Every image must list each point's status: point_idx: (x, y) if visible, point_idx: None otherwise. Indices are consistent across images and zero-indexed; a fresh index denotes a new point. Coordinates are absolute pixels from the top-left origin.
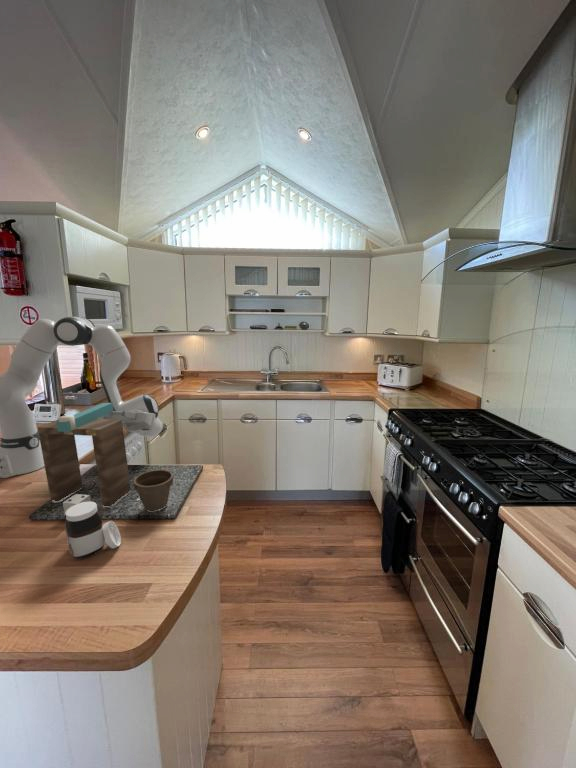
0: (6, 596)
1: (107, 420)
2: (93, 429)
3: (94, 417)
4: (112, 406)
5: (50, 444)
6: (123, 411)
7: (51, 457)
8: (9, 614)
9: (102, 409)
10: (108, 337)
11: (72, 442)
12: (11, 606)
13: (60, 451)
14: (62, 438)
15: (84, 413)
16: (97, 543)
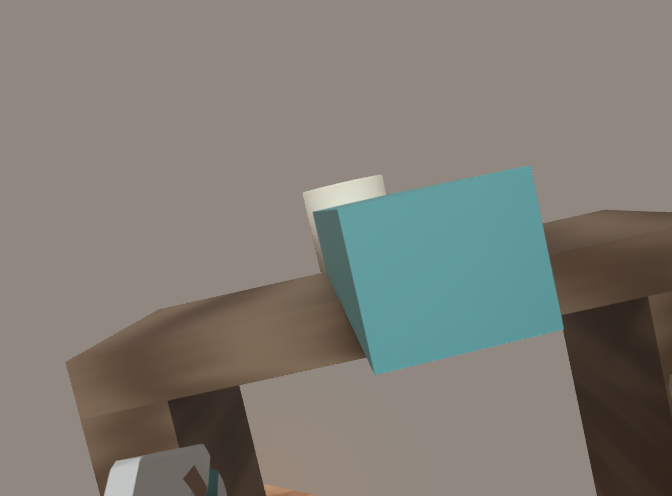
0: (308, 493)
1: (198, 326)
2: (200, 300)
3: (332, 275)
4: (352, 276)
5: (569, 343)
6: (182, 448)
7: (583, 424)
8: (265, 487)
9: (330, 238)
10: None
11: (666, 467)
12: (276, 491)
13: (611, 441)
14: (608, 363)
15: (341, 205)
16: None
